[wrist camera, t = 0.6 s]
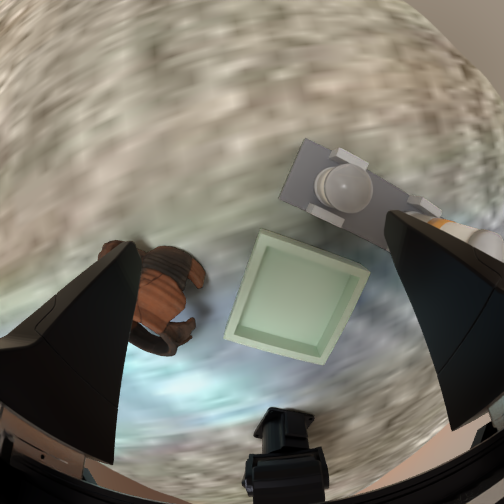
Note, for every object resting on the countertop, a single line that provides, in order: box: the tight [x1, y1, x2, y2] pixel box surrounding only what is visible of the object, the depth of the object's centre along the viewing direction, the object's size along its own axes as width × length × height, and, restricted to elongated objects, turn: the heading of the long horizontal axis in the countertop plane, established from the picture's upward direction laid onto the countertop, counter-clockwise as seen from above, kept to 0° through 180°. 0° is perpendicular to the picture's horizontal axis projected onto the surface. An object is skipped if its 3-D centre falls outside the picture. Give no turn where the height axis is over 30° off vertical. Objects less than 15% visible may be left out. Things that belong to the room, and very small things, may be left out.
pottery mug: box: [98, 240, 205, 357], centre depth 25 cm, size 12×10×8 cm
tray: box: [223, 228, 371, 365], centre depth 26 cm, size 11×11×3 cm
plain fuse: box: [313, 164, 373, 213], centre depth 21 cm, size 4×4×5 cm
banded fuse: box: [404, 210, 504, 263], centre depth 18 cm, size 4×4×12 cm
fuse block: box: [278, 138, 443, 252], centre depth 23 cm, size 6×17×4 cm, turn 67°
